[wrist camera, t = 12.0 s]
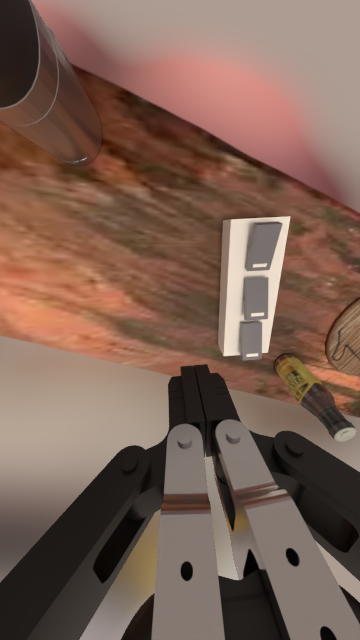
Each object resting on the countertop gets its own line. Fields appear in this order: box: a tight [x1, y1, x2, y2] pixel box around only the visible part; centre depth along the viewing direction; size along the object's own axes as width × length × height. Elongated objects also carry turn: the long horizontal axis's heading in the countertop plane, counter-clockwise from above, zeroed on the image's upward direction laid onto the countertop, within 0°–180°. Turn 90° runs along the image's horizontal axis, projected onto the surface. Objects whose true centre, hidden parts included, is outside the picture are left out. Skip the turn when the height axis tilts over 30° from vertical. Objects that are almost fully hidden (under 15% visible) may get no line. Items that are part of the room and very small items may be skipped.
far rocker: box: [239, 321, 262, 360], centre depth 41 cm, size 8×4×2 cm, turn 3°
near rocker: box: [245, 221, 283, 271], centre depth 33 cm, size 8×4×2 cm, turn 2°
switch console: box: [218, 216, 290, 356], centre depth 41 cm, size 27×10×5 cm, turn 3°
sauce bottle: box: [275, 354, 357, 442], centre depth 44 cm, size 6×6×20 cm
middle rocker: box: [243, 277, 269, 321], centre depth 37 cm, size 8×4×2 cm, turn 3°
